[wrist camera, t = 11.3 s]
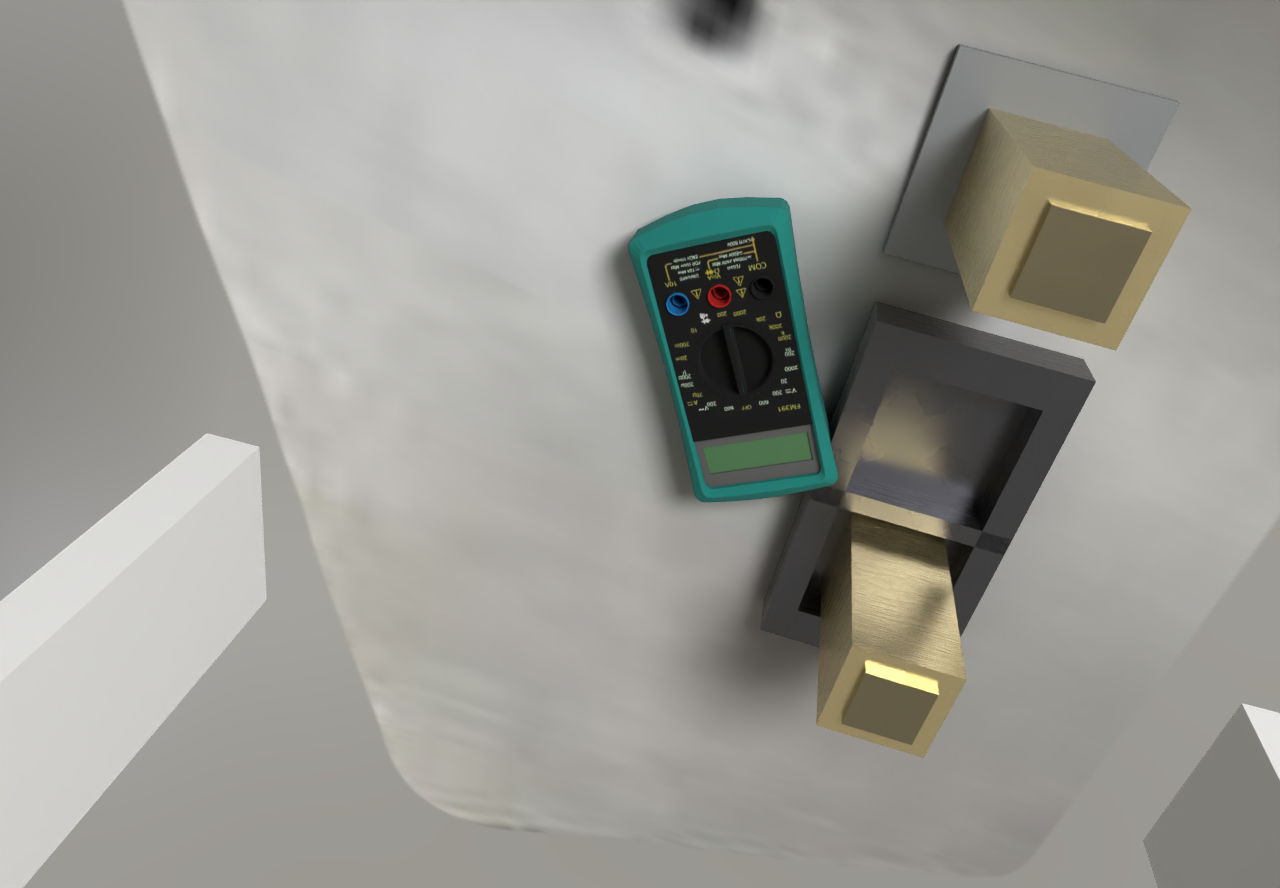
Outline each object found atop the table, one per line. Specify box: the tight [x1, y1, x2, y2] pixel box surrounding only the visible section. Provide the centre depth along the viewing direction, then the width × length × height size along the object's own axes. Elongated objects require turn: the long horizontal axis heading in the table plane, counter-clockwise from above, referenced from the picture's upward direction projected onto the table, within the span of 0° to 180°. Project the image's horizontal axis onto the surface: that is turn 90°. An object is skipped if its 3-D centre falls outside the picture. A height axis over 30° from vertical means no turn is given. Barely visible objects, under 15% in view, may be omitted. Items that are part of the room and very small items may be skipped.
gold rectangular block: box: [816, 511, 967, 758], centre depth 46 cm, size 5×5×11 cm
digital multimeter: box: [629, 197, 838, 502], centre depth 45 cm, size 7×15×3 cm, turn 15°
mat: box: [884, 44, 1180, 274], centre depth 40 cm, size 9×9×1 cm
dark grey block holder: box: [761, 302, 1096, 647], centre depth 48 cm, size 19×10×2 cm, turn 167°
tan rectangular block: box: [944, 108, 1191, 350], centre depth 35 cm, size 5×5×11 cm
